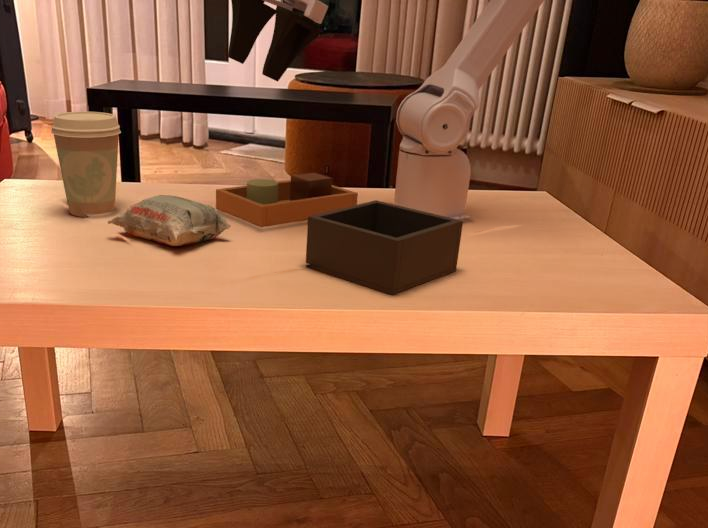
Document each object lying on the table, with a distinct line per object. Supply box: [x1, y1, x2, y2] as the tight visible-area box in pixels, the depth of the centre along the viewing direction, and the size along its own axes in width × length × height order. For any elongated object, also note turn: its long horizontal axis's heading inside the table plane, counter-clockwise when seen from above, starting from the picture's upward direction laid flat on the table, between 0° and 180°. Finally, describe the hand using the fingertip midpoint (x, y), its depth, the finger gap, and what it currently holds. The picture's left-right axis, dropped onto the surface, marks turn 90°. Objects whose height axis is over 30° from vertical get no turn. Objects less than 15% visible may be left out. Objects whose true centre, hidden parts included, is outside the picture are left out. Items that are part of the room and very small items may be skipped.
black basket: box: [305, 199, 464, 296], centre depth 82 cm, size 12×12×6 cm
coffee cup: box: [50, 111, 122, 218], centre depth 98 cm, size 9×8×12 cm
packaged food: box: [107, 194, 231, 247], centre depth 89 cm, size 9×12×5 cm
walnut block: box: [290, 172, 333, 201], centre depth 104 cm, size 4×4×4 cm
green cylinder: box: [246, 178, 279, 205], centre depth 100 cm, size 4×4×4 cm
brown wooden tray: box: [215, 179, 359, 228], centre depth 103 cm, size 16×11×3 cm
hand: (252, 69), depth 91 cm, fingers open, 7 cm apart
